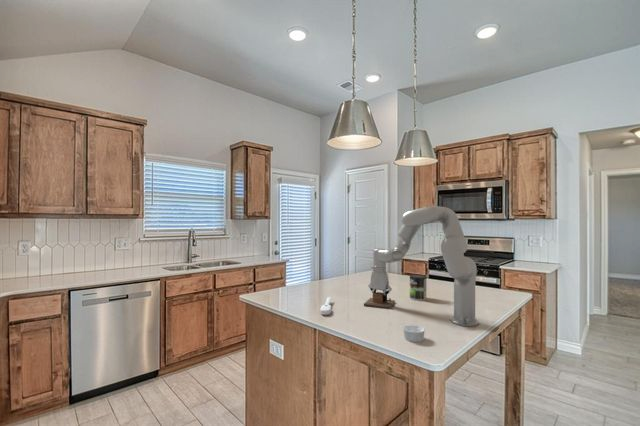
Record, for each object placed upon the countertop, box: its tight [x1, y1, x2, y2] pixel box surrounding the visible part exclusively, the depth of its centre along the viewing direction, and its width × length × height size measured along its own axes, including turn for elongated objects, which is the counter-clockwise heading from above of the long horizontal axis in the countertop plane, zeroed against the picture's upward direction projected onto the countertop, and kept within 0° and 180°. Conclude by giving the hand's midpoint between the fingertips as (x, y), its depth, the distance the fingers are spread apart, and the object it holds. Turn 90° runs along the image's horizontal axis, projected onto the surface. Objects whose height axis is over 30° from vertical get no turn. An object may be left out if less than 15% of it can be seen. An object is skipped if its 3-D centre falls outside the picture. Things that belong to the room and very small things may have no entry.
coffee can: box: [409, 273, 428, 301], centre depth 201 cm, size 10×10×14 cm
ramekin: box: [402, 324, 426, 343], centre depth 135 cm, size 9×9×4 cm
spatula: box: [319, 296, 332, 316], centre depth 179 cm, size 28×6×3 cm, turn 173°
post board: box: [363, 291, 396, 310], centre depth 187 cm, size 15×15×7 cm
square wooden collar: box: [372, 291, 387, 304], centre depth 189 cm, size 10×6×5 cm, turn 138°
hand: (379, 300), depth 187 cm, fingers closed on square wooden collar, 6 cm apart
